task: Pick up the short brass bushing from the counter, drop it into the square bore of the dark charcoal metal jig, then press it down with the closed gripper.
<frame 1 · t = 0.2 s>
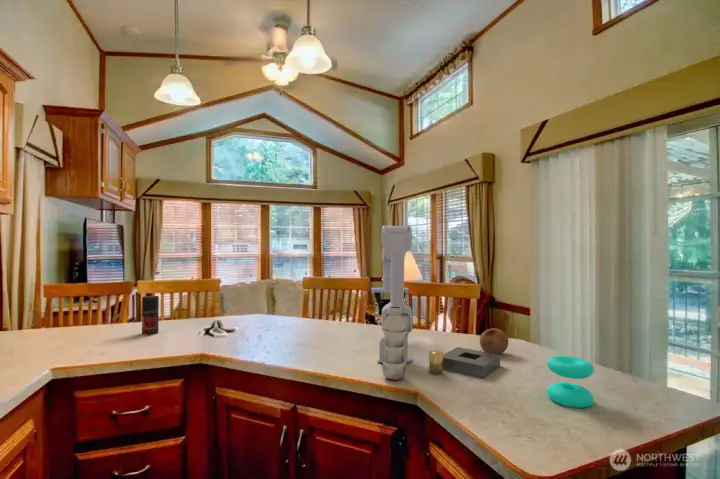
hand: (389, 310, 157), 11 cm above the worktop, tool pointing down, fingers open, 7 cm apart
bushing: (435, 372, 115), on the worktop
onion: (493, 354, 135), on the worktop
plastic bottle: (393, 379, 110), on the worktop
cloth: (213, 334, 162), on the worktop
donuts: (569, 401, 96), on the worktop
jig: (469, 367, 120), on the worktop
deodorant: (150, 333, 160), on the worktop
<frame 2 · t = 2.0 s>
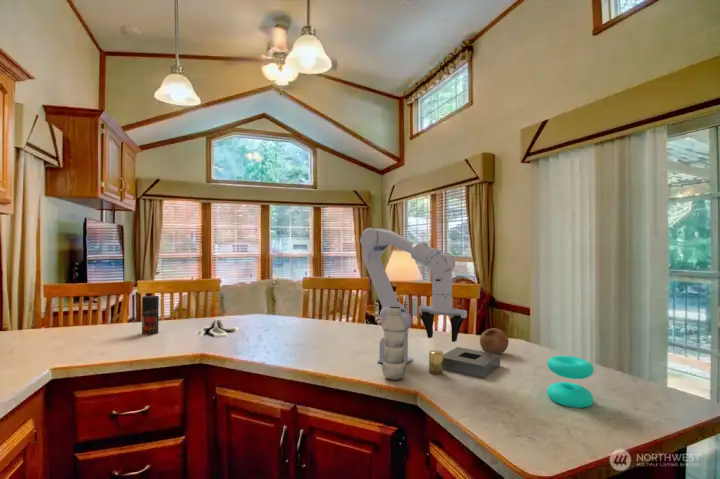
hand: (441, 339, 116), 10 cm above the worktop, tool pointing down, fingers open, 7 cm apart
nothing on the worktop moved.
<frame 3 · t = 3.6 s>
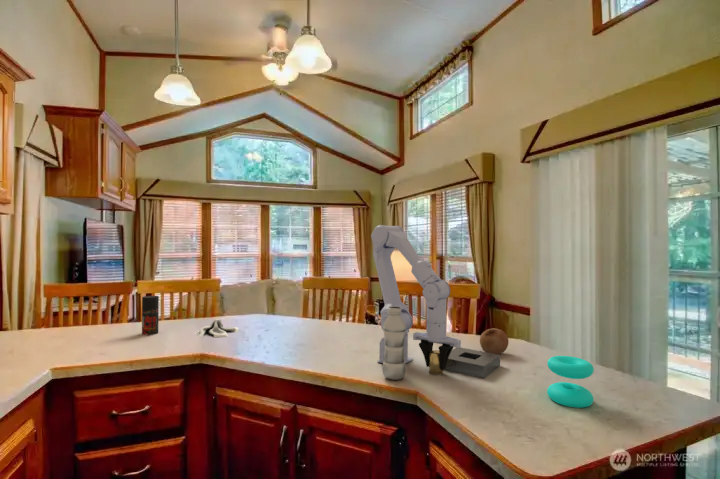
hand: (435, 367, 115), 1 cm above the worktop, tool pointing down, fingers closed on bushing, 4 cm apart
bushing: (435, 372, 115), on the worktop, touching gripper
everything else where it was.
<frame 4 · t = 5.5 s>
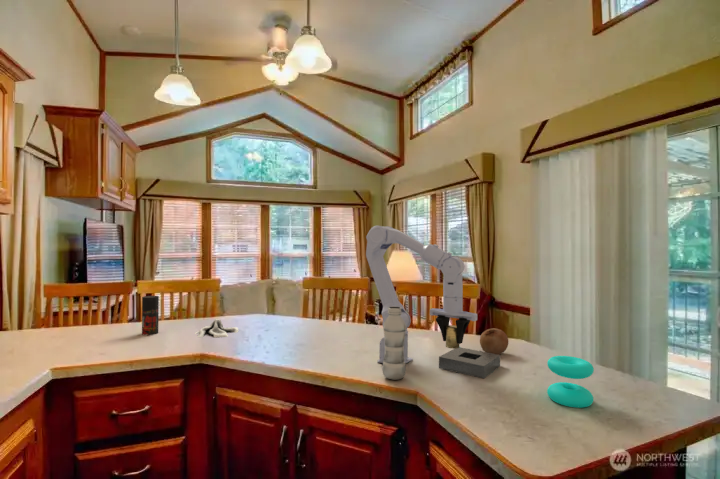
hand: (452, 341, 118), 8 cm above the worktop, tool pointing down, fingers closed on bushing, 4 cm apart
bushing: (452, 346, 117), point 7 cm above the worktop, touching gripper
everything else where it was.
when the fingers open (6 cm above the worktop, at t = 6.9 s): bushing drops 5 cm, resting in jig.
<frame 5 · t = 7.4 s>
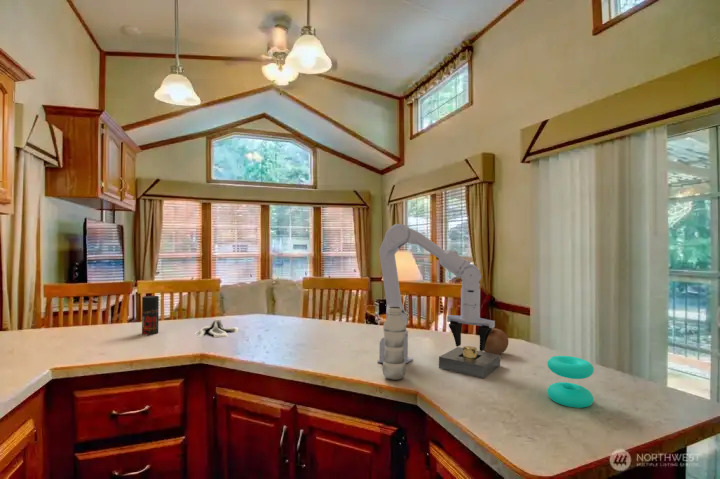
hand: (470, 347, 120), 6 cm above the worktop, tool pointing down, fingers open, 7 cm apart
bushing: (469, 367, 120), resting in jig
everything else where it was.
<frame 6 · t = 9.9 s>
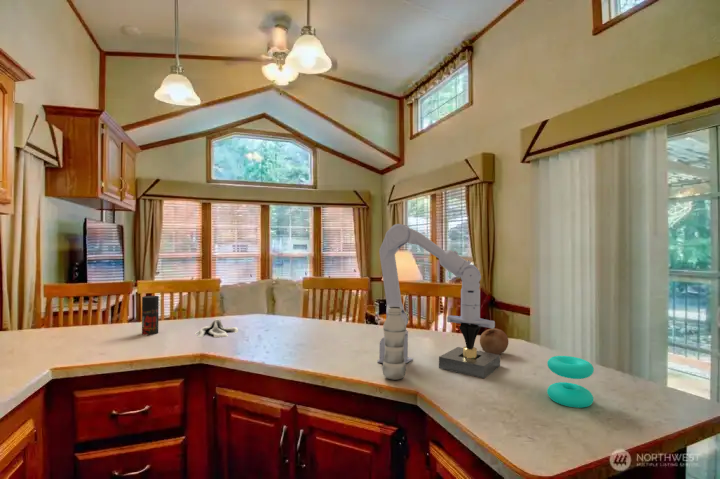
hand: (470, 348, 120), 6 cm above the worktop, tool pointing down, fingers closed, pressing on bushing
bushing: (469, 367, 120), resting in jig, touching gripper
everything else where it was.
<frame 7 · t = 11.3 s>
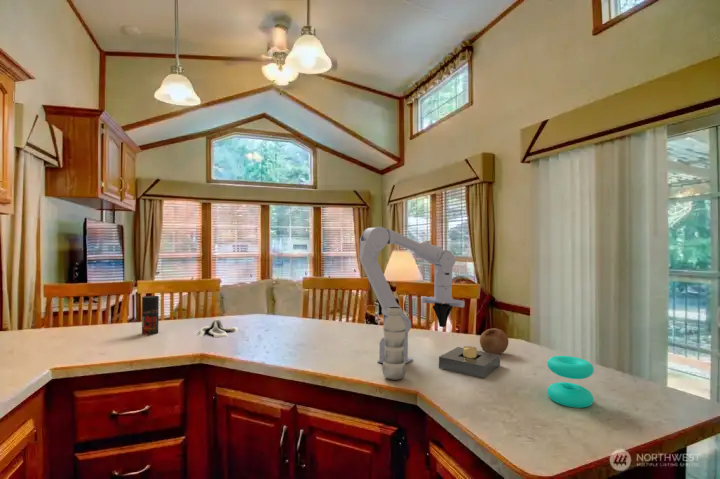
hand: (442, 326, 131), 10 cm above the worktop, tool pointing down, fingers closed
bushing: (469, 367, 120), resting in jig
everything else where it was.
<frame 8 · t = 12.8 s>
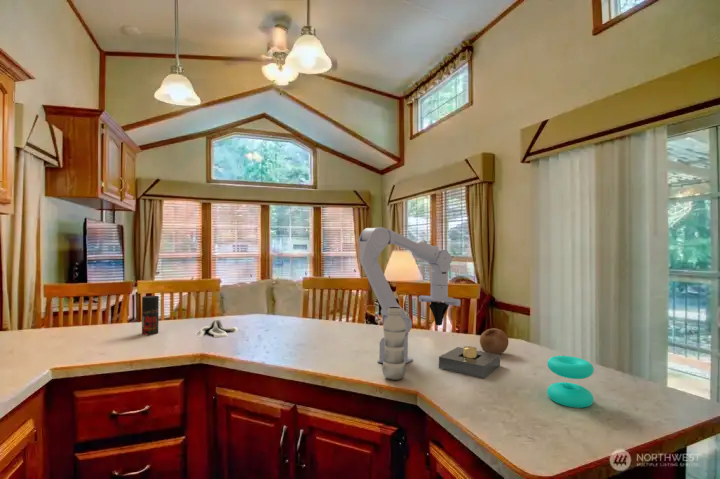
hand: (438, 324, 132), 10 cm above the worktop, tool pointing down, fingers closed
nothing on the worktop moved.
at the end: bushing 0.1 cm off-centre on the jig, point 0.0 cm above the jig's base; bushing tilted 0°; the gripper is holding nothing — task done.
